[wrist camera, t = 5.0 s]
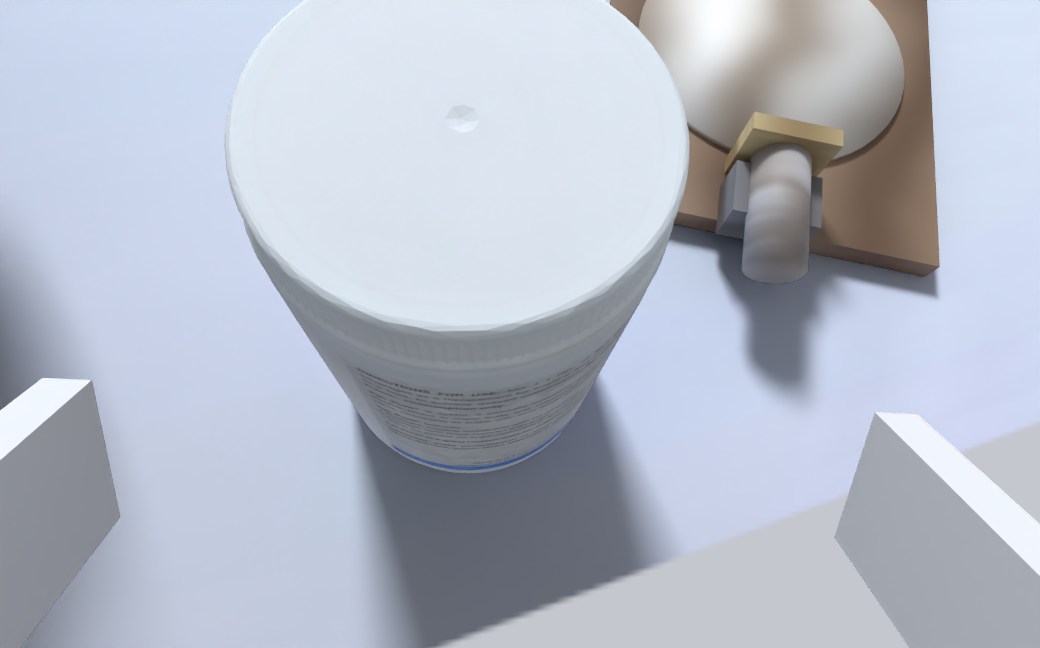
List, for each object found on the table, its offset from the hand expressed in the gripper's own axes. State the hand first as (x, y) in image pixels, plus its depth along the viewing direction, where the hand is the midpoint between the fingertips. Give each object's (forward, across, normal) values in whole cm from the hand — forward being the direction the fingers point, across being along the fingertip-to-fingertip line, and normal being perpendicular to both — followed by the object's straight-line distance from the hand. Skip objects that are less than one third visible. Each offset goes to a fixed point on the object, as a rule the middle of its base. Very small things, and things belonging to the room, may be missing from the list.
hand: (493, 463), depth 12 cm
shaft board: (+26, +13, +6) cm, 29 cm away
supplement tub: (+15, -1, -5) cm, 16 cm away
